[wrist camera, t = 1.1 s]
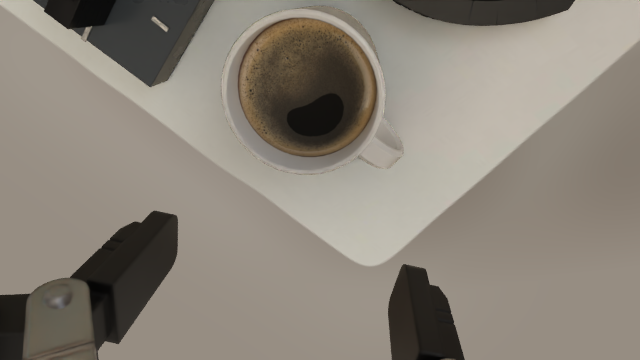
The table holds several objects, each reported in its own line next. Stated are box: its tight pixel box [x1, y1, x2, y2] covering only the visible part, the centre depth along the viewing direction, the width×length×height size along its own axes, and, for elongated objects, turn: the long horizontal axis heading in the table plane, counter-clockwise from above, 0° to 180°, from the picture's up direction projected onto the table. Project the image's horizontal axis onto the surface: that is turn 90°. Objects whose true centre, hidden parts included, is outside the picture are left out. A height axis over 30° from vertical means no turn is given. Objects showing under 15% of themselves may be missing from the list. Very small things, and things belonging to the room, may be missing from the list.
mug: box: [221, 6, 403, 175], centre depth 27 cm, size 10×12×11 cm
